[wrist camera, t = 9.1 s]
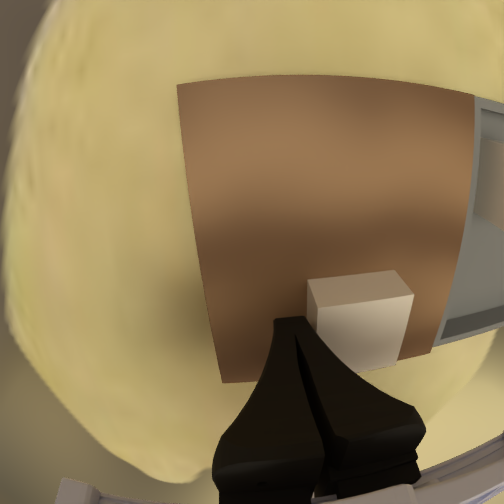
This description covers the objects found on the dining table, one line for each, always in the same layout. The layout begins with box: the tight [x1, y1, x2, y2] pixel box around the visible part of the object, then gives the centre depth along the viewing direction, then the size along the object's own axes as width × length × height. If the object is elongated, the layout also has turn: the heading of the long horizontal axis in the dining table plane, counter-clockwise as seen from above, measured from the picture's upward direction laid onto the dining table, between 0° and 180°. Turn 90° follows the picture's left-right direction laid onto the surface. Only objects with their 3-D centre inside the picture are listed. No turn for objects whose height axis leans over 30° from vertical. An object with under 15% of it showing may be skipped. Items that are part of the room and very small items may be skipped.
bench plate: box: [177, 75, 475, 383], centre depth 13 cm, size 14×12×2 cm
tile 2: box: [307, 270, 414, 373], centre depth 13 cm, size 4×4×2 cm
